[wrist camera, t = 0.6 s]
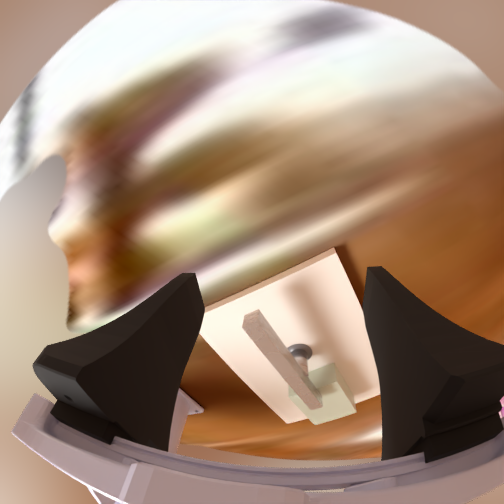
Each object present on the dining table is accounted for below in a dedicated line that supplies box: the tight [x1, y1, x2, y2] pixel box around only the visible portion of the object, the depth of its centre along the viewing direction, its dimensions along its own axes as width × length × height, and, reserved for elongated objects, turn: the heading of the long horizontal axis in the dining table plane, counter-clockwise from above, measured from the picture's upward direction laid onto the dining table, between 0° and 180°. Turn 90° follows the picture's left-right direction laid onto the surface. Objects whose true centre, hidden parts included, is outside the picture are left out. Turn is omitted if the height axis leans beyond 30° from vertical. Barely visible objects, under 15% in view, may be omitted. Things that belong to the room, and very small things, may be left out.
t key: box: [242, 309, 323, 410], centre depth 22 cm, size 2×12×4 cm, turn 31°
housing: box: [199, 247, 380, 424], centre depth 25 cm, size 14×20×1 cm
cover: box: [288, 363, 356, 425], centre depth 25 cm, size 5×7×2 cm
